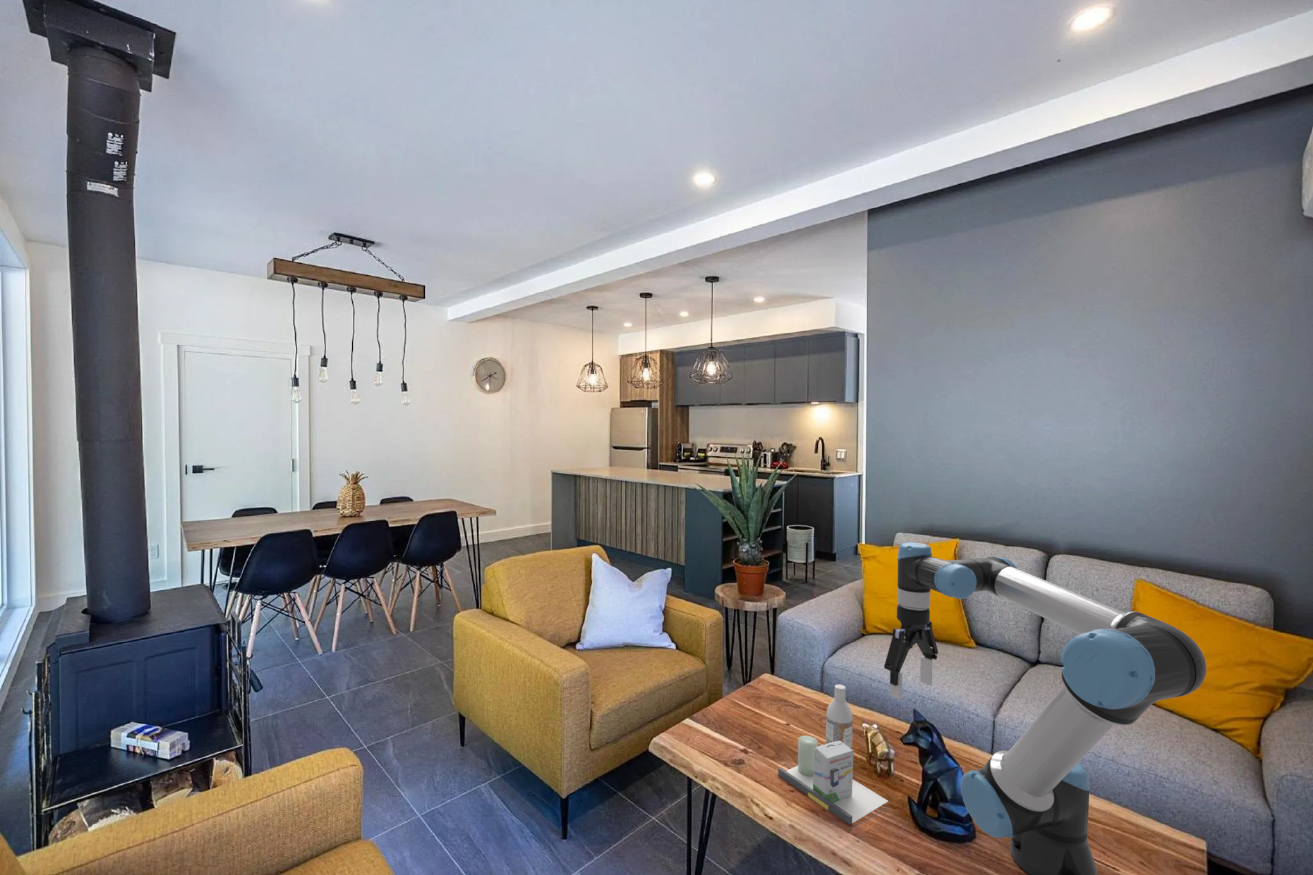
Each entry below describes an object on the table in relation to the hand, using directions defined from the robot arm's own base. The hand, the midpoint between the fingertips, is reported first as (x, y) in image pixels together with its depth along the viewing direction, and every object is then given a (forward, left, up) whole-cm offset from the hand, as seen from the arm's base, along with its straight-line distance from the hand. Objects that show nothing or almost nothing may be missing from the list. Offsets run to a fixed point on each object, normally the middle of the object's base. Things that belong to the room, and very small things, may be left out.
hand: (911, 690), depth 143 cm
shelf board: (+11, +16, -27) cm, 33 cm away
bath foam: (+20, +2, -27) cm, 33 cm away
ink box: (+9, +18, -25) cm, 32 cm away
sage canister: (+19, +15, -25) cm, 35 cm away
